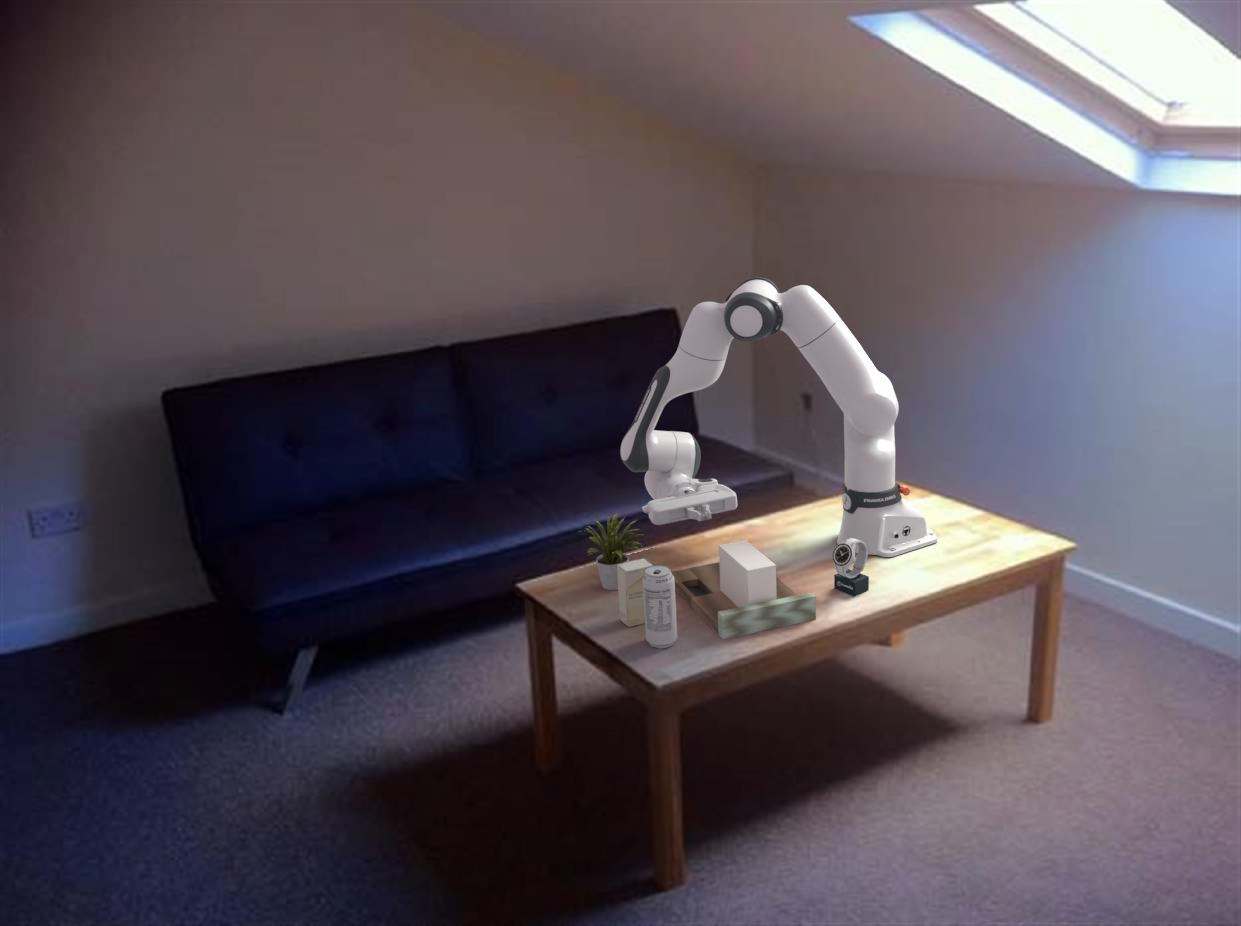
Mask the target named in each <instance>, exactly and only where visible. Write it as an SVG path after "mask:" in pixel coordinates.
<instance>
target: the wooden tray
mask: <svg viewBox="0 0 1241 926" xmlns="http://www.w3.org/2000/svg"><path fill="white" fill-rule="evenodd" d="M671 573H672V575H673V576H674V580H675V592H677V593H678V594H679V595H680V596H681V597H682V599H683V600H685V602H687V604H688V605H689V606H690V607H691V608H692V609H693V610H694V611H695V610H696V611H695V612H696V613H697V614H698V615H699V616H700V617H701V618H702V619H703V621H704V622H706V624H707V623H708V624H707V625H708V626H710V628H711V629H712V630H713V631H714V632H715V633H716V634H717V636H719V637H720V638H721V639H722V640H728V639H731V638H735V637H739V636H745V635H751V634H755V633H759V632H764V631H768V630H773V629H778V628H781V627H783V628H784V627H786V626H790V625H796V624H801V623H805V622H809V621H815V620H817V596H816V595H815V594H814V593H812V592H806V593H802V594H801V593H800V594H797V593H796V592H795V591H794V590H792V589H791V588H790V587H789V586H788V585H786V583H784V582H783V581H782V580H780V579H779V578H778V577H777V576H776V596H777V600H772V601H767V602H762V603H757V604H753V605H748V606H743V607H737V606H736V605H735V604H734V603H733V602H732V601H731V600H730V599H729V598H728V597H727V596H726V595H725V594H724V593H723V592H722V591H721V590H720V564H719V561H717V562H713V563H709V564H704V565H703V564H702V565H698V566H692V567H688V568H683V569H678V570H671Z"/></svg>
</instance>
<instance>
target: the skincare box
mask: <svg viewBox="0 0 1241 926" xmlns="http://www.w3.org/2000/svg"><path fill="white" fill-rule="evenodd" d="M652 566H654V565H653V564H652V563H651V562H650V561H648V560H647V559H646V558H641V559H635V560H629V562H625V563H621V564H617V574H618V590H617V591H618V607H619V620H620V621H621V622H622V623H623V624H625V626H627V627H628V628H630V627H634V626H639V625H643V624H644V625H645V613H644V596H643V577H644V575H645V570H646V569H647V568H649V567H652Z"/></svg>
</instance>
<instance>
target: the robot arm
mask: <svg viewBox="0 0 1241 926" xmlns="http://www.w3.org/2000/svg"><path fill="white" fill-rule="evenodd" d="M780 331H782V332H784V333H785V334H786V335H787V336H788V337H789V338H790V339H791V341H792V342H793V344H794V345H795V346H796V348H797V349H798V350H799V352H800V353H801V355H803V357H804V359H805V360H806V361H807V362H808V363H809V365H810V366H811V368H812V369H813V370H814V372H815V373H816V374H817V376H818V377H819V379H820V380H821V382H822V383H823V384H824V386H825V388H826V389H827V391H828V393H829V394H830V395H831V398H832V399H833V400H834V402H835V403H836V404H837V406H838V407H839V409H841V411H842V413H843V436H844V437H843V438H844V440H843V441H844V443H843V445H844V481H843V483H842V495H841V497H842V500H841V501H842V502H841V503H842V509H843V511H842V518H841V524H840V529H839V533H838V535H837V536H838V537H837V539H836V543H837V545H839V544H841V543H842V542H843V541H845V540H847V539H849V538H854V539H857V540H860V541H863V542H864V543H865V544H866V546H867V554H868V555H873V556H879V557H884V558H894V557H896V556H898V555H901V554H905V553H908V552H911V551H914V550H917V549H922V548H923V547H926V546H929V545H933V544H935V543H937V542H938V536H937V534H936V532H935V531H933V530H932V529H931V528H929V527H928V526H927V520H926V516H925V514H924V513H923V512H922V511H921V510H920V509H919V508H917V507H916V506H915V505H914V504H912V503H911V502H909V501H908V500H906V499H904V498H903V497H902V494H903V495H904V496H907V497H908V496H909V495H910V494H911V493H912V492H911V491H912V489H911V488H910V486H907V485H905V484H902V485H901V484H900V483H898V482H897V481H896V440H895V436H896V435H895V422H896V420H897V418H898V415H899V411H900V409H899V407H900V405H899V401H898V397H897V394H896V392H895V389H894V386H893V384H892V382H891V379H889V377H887V375H885V374H884V373H882V372H880V371H879V370H878V369H877V368H876V366H875V365H874V363H873V361H872V360H871V359H870V358H869V356H868V354H867V352H866V351H865V350H864V348H863V346H862V345H861V343H859V341H858V339H857V338H856V337H855V335H854V334H853V333H852V331H850V329H849V328H848V326H847V325H846V324H845V322H844V321H843V319H842V318H841V317H840V316H839V314H838V313H837V312H836V311H835V309H834V308H833V307H832V306H831V305H830V303H829V302H828V301H827V300H826V299H825V298H824V297H823V296H822V295H821V294H820V293H818V291H817V290H815V289H814V288H813V287H811V286H810V285H806V284H800V285H796V286H794V287H791V288H789V289H788V290H787V291H784V292H780V290H779V288H778V287H777V285H776V284H775V283H774V282H773V281H772V280H770V279H768V278H766V277H761V276H759V277H751V278H748V279H746V280H745V281H742V283H740V284H739V285H738V286H737V287H736V288H735V289H734V290H733V291H732V292H731V293H730V294H729V295H728V296H727V297H726V298H725V302H724V303H719V302H715V301H702V302H700V303H698V304H696V305H695V306H694V307H693V308H692V310H691V312H690V314H689V316H688V319H687V320H686V323H685V324H684V327H683V330H682V333H681V336H680V340H679V343H678V346H677V348H676V349H677V350H676V352H675V353H674V355H673V356H672V357H671V359H670V360H669V361H668V362H667V363H666V364H665V365H663V366H661V367H660V368H658V369H657V371H656V372H655V374H654V375H653V377H652V380H651V381H650V384H649V386H648V388H647V390H646V392H645V395H644V397H643V399H642V401H641V404H640V405H639V408H638V410H637V412H636V415H635V417H634V419H633V421H632V423H631V425H630V426H629V428H628V429H627V431H626V433H625V434H624V436H623V438H622V440H621V444H620V448H619V449H620V450H619V454H620V456H619V457H620V459H621V461H622V463H623V465H625V467H627V468H628V469H629V470H630V471H631V472H633V473H645V472H646V473H645V475H644V485H645V489H646V491H647V493H648V494H649V495H650V497H651V498H652V500H650V501H648V503H645V505H644V506H642V507H641V511H642V512H643V513H645V514H648V518H649V520H650V521H651V523H652V524H653V525H656V526H663V525H666V524H671V523H672V524H673V523H677V522H682V521H686V520H690V519H691V520H695V521H698V522H702V521H709V520H712V518H713V517H712V515H714V514H719V513H724V512H729V511H734V510H737V508H738V497H737V493H736V491H734V490H732V489H731V488H730V487H728V486H726V485H724V484H721V483H718V480H717V479H716V478H695V477H696V475H697V474H698V471H699V468H700V465H701V460H702V453H701V452H702V451H701V448H700V444H699V443H698V441H697V440H696V438H695V436H694V435H693V434H691V432H685V431H676V430H669V431H668V430H656V429H655V428H656V426H657V424H658V421H659V419H660V416H662V415H661V414H662V412H663V410H664V408H665V407H666V405H667V404H668V403H669V402H670V401H671V400H674V399H675V398H677V397H679V396H683V395H685V394H688V393H692V392H697V391H701V390H704V389H706V388H709V387H711V386H712V385H713V384H715V382H717V381H718V379H719V378H720V376H721V374H722V372H723V371H724V368H725V364H726V361H727V357H728V353H729V349H730V347H731V343H732V341H733V339H736V340H738V341H742V342H754V341H759V340H761V339H764V338H766V337H771V336H772V335H776V334H778V333H779V332H780ZM855 545H856V548H855V554H857V552H858V551H859V546H858V543H856V544H855Z"/></svg>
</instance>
